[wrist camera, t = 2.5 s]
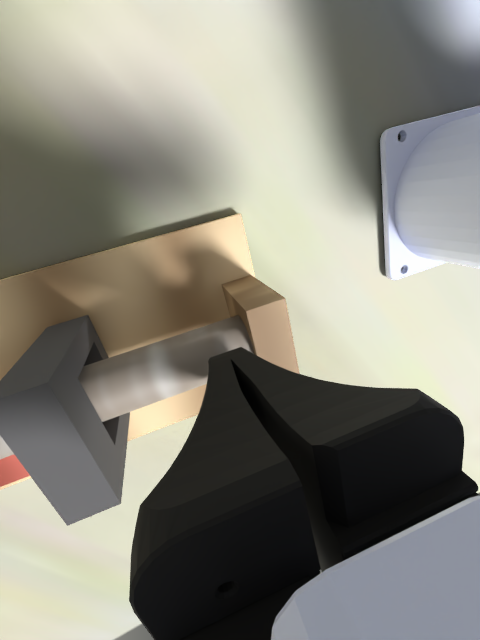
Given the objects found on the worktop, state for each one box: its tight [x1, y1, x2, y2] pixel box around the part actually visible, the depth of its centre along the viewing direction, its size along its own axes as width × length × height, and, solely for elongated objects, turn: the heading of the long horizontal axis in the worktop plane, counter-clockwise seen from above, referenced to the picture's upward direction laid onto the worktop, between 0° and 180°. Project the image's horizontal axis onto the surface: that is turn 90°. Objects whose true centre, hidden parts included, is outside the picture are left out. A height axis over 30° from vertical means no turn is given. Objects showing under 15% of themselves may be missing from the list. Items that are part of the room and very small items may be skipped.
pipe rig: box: [0, 214, 300, 490], centre depth 13 cm, size 20×10×5 cm, turn 104°
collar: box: [0, 315, 130, 526], centre depth 12 cm, size 2×5×6 cm, turn 14°
